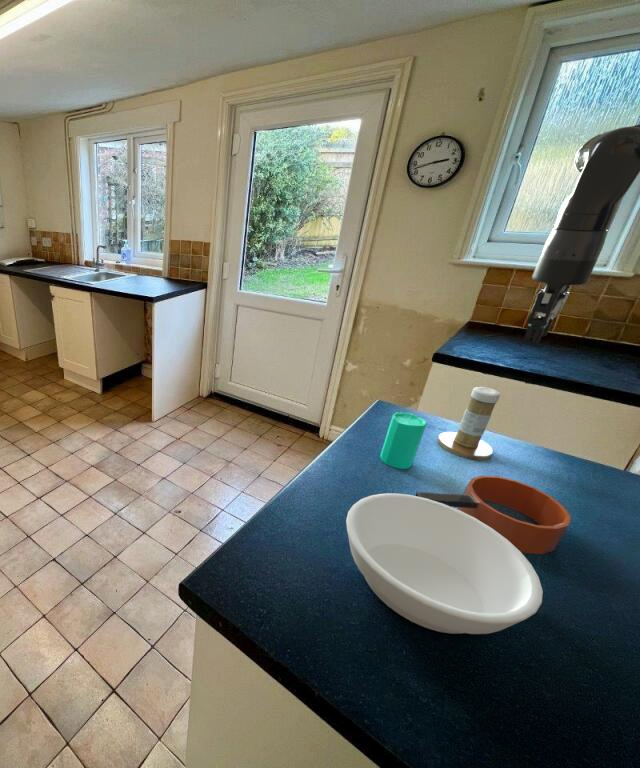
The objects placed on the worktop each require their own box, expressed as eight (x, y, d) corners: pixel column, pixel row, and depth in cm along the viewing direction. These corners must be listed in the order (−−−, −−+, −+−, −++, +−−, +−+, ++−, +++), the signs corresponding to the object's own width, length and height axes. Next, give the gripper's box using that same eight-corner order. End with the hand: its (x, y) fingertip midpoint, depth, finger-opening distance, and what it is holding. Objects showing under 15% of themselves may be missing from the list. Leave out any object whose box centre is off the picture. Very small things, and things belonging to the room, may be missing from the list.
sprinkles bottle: (473, 440, 95) (495, 387, 90) (481, 450, 92) (504, 396, 86) (450, 436, 97) (470, 384, 91) (456, 446, 93) (478, 393, 87)
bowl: (338, 514, 75) (349, 477, 72) (494, 560, 66) (515, 520, 62) (329, 617, 57) (343, 574, 54) (542, 701, 48) (575, 656, 44)
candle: (417, 470, 87) (434, 420, 82) (386, 467, 88) (402, 418, 83) (404, 453, 92) (420, 406, 87) (375, 451, 93) (389, 404, 88)
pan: (516, 501, 78) (528, 477, 76) (578, 557, 66) (594, 531, 64) (393, 493, 80) (401, 470, 78) (431, 546, 68) (442, 521, 66)
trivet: (472, 436, 99) (474, 432, 98) (502, 461, 90) (504, 457, 89) (428, 434, 100) (429, 430, 99) (453, 458, 91) (455, 454, 90)
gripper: (592, 262, 69) (552, 353, 76) (602, 253, 77) (566, 336, 84) (533, 258, 74) (500, 343, 81) (548, 250, 82) (517, 328, 89)
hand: (533, 340), depth 82 cm, fingers open, 8 cm apart
